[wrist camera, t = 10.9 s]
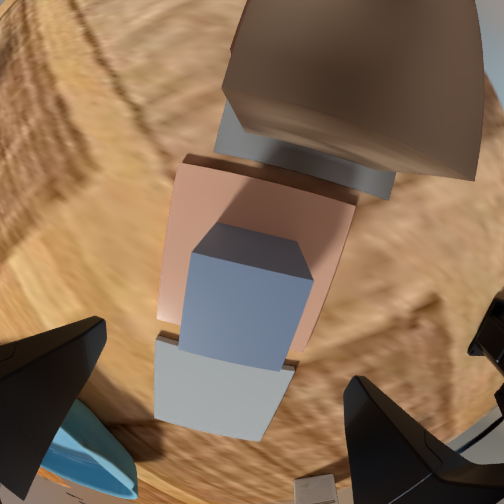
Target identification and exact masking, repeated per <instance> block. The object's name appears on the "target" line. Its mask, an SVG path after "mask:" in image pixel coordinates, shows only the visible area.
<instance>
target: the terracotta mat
mask: <svg viewBox="0 0 504 504" xmlns="http://www.w3.org/2000/svg"><path fill="white" fill-rule="evenodd" d="M355 207H356V206H354V205H352V204H348V203H345V202H342V201H339V200H335V199H332V198H329V197H325V196H322V195H318V194H315V193H311V192H308V191H304V190H301V189H297V188H293V187H289V186H286V185H282V184H278V183H274V182H270V181H266V180H262V179H258V178H253V177H249V176H245V175H240V174H236V173H231V172H227V171H222V170H217V169H212V168H207V167H202V166H197V165H192V164H187V163H180V162H179V163H178V168H177V173H176V178H175V183H174V188H173V193H172V199H171V205H170V211H169V217H168V223H167V230H166V236H165V244H164V251H163V259H162V267H161V276H160V286H159V296H158V308H157V319H159V320H163V321H166V322H170V323H173V324H177V325H180V326H181V319H182V311H183V304H184V297H185V290H186V283H187V276H188V270H189V263H190V257H191V252H192V251H193V250H194V248H195V247H196V246H197V245H198V243H199V242H200V241H201V240H202V239H203V237H204V236H205V235H206V234H207V233H208V231H209V230H210V229H211V228H212V227H213V225H214V224H215V223H216V222H218V223H222V224H227V225H231V226H235V227H240V228H244V229H248V230H252V231H256V232H261V233H265V234H269V235H273V236H277V237H281V238H285V239H290V240H294V241H297V242H298V245H299V247H300V249H301V252H302V254H303V256H304V258H305V261H306V263H307V265H308V268H309V270H310V272H311V275H312V277H313V279H314V283H313V286H312V289H311V291H310V294H309V297H308V300H307V303H306V306H305V308H304V311H303V314H302V317H301V319H300V322H299V325H298V327H297V330H296V333H295V335H294V338H293V340H292V343H291V346H290V348H289V350H292V351H298V352H304V350H305V347H306V345H307V343H308V340H309V338H310V335H311V333H312V331H313V328H314V326H315V323H316V321H317V318H318V316H319V313H320V311H321V308H322V305H323V303H324V300H325V298H326V295H327V292H328V290H329V287H330V284H331V281H332V279H333V276H334V273H335V270H336V267H337V264H338V261H339V258H340V255H341V252H342V249H343V246H344V243H345V240H346V237H347V234H348V231H349V228H350V224H351V221H352V218H353V214H354V211H355Z"/></svg>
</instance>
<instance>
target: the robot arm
mask: <svg viewBox="0 0 504 504" xmlns="http://www.w3.org/2000/svg"><path fill="white" fill-rule="evenodd" d="M106 340H107V332H106V321H105V320H104V319H103V318H100V317H98V316H92V317H89V318H86V319H83V320H80V321H77V322H74V323H71V324H68V325H65V326H62V327H59V328H55V329H52V330H49V331H46V332H43V333H40V334H37V335H34V336H30V337H27V338H24V339H21V340H18V341H15V342H11V343H8V344H5V345H1V346H0V486H1V484H2V485H4V486H5V487H6V488H7V489H8V490H10V491H11V492H12V493H14V494H15V495H16V496H18V497H19V498H20V499H22V500H23V501H24V500H25V498H26V496H27V493H28V491H29V489H30V486H31V484H32V482H33V480H34V478H35V476H36V473H37V471H38V469H39V467H40V465H41V463H42V461H43V459H44V457H45V455H46V453H47V451H48V449H49V447H50V445H51V443H52V441H53V439H54V437H55V435H56V434H57V432H58V430H59V428H60V426H61V424H62V423H63V421H64V419H65V417H66V415H67V414H68V412H69V410H70V408H71V407H72V405H73V403H74V402H75V400H76V398H77V397H78V395H79V393H80V391H81V390H82V388H83V387H84V385H85V383H86V382H87V380H88V378H89V377H90V375H91V373H92V371H93V369H94V367H95V364H96V362H97V360H98V358H99V356H100V354H101V352H102V350H103V348H104V346H105V344H106ZM467 353H468V354H469V355H470V356H486V357H487V358H488V359H489V361H490V362H491V363H492V364H493V365H494V366H495V367H496V369H497V370H498V371H499V372H500V373H501V374H502V376H503V377H504V300H503V299H499V298H496V299H494V301H493V303H492V305H491V307H490V309H489V312H488V314H487V316H486V318H485V320H484V322H483V324H482V326H481V328H480V329H479V331H478V333H477V335H476V337H475V339H474V340H473V342H472V344H471V346H470V347H469V349H468V351H467ZM494 396H495V398H496V402H497V404H498V406H499V408H500V411H501V413H502V415H503V418H504V383H503V384H502V386H501V387H500V389H499V390H497V391H496V393H495V394H494ZM343 401H344V425H345V435H346V442H347V449H348V456H349V464H350V472H351V481H352V490H353V500H354V504H504V463H500V464H486V465H480V464H475V463H472V462H470V461H468V460H467V459H465V458H464V457H462V456H461V455H459V454H458V453H456V452H455V451H453V450H452V449H450V448H449V447H448V446H446V445H445V444H444V443H442V442H441V441H439V440H438V439H437V438H436V437H435V436H433V435H432V434H431V433H430V432H429V431H427V430H426V429H424V427H423V426H421V425H420V424H419V423H418V422H417V421H416V420H414V419H413V418H412V417H411V416H410V415H409V414H407V413H406V412H405V411H404V410H403V409H402V408H401V407H399V406H398V405H397V404H396V403H395V402H394V401H392V400H391V399H390V398H389V397H388V396H387V395H386V394H384V393H383V392H382V391H381V390H380V389H379V388H378V387H376V386H375V385H374V384H373V383H372V382H371V381H370V380H369V379H367V378H366V377H365V376H358V375H356V376H354V377H353V378H352V379H351V381H350V382H349V384H348V386H347V387H346V389H345V391H344V394H343ZM0 504H2V502H1V500H0Z"/></svg>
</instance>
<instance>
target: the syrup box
mask: <svg viewBox="0 0 504 504" xmlns="http://www.w3.org/2000/svg"><path fill="white" fill-rule="evenodd" d="M294 494H295V504H339V503H338V497H337V491H336V486H335V480H334V475H333V474H327V475H320V476H314V477H308V478H302V479H295V480H294Z"/></svg>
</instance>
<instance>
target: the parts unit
mask: <svg viewBox="0 0 504 504" xmlns="http://www.w3.org/2000/svg"><path fill="white" fill-rule="evenodd" d="M230 51H231V58H230V61H229V64H228V67H227V71H226V74H225V78H224V81H223V84H222V90H223V92H224V94H225V96H226V98H227V100H226V104H225V108H224V112H223V115H222V119H221V123H220V127H219V131H218V135H217V139H216V143H215V148H214V152H215V153H220V154H225V155H230V156H235V157H239V158H244V159H248V160H253V161H257V162H261V163H265V164H269V165H273V166H277V167H281V168H285V169H289V170H293V171H296V172H300V173H304V174H307V175H311V176H314V177H318V178H321V179H324V180H328V181H331V182H334V183H337V184H341V185H344V186H347V187H350V188H353V189H356V190H359V191H362V192H365V193H368V194H371V195H373V196H376V197H379V198H382V199H385V200H388V201H389V198H390V194H391V190H392V186H393V183H394V179H395V175H396V172H404V173H414V174H424V175H433V176H441V177H448V178H455V179H462V180H468V181H475V176H476V170H477V165H478V158H479V152H480V144H481V136H482V125H483V111H484V64H483V51H482V41H481V33H480V26H479V20H478V14H477V9H476V4H475V0H247V2H246V5H245V7H244V10H243V13H242V16H241V18H240V21H239V24H238V27H237V30H236V33H235V36H234V39H233V42H232V45H231V48H230Z"/></svg>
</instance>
